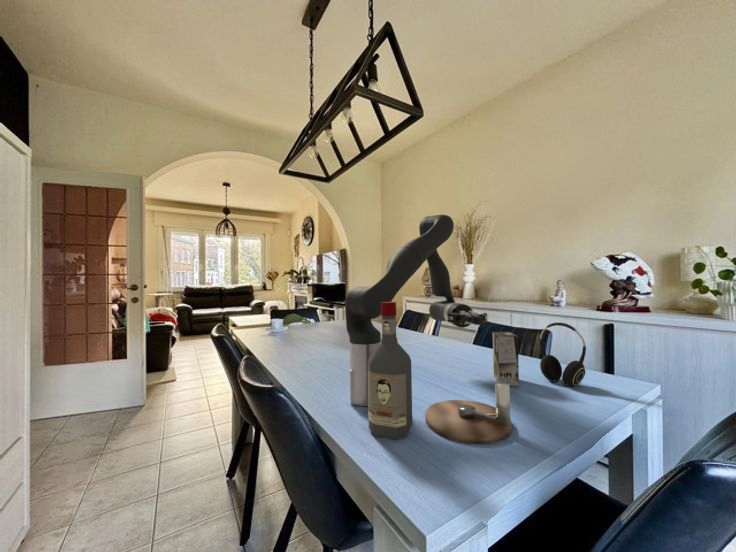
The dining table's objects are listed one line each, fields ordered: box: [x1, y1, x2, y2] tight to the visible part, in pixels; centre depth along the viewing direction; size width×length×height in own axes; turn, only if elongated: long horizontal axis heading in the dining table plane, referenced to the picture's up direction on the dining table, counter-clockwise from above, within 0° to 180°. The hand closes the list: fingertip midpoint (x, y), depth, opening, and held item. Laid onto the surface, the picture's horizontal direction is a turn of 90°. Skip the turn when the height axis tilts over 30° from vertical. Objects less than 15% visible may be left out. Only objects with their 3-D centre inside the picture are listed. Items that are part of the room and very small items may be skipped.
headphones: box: [539, 322, 587, 387], centre depth 102 cm, size 9×15×20 cm, turn 28°
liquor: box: [367, 301, 413, 441], centre depth 73 cm, size 9×9×30 cm
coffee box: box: [492, 331, 520, 387], centre depth 105 cm, size 9×6×16 cm
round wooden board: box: [424, 399, 513, 445], centre depth 76 cm, size 20×20×2 cm
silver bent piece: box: [458, 381, 511, 426], centre depth 73 cm, size 12×4×9 cm, turn 51°
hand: (479, 321), depth 85 cm, fingers closed
